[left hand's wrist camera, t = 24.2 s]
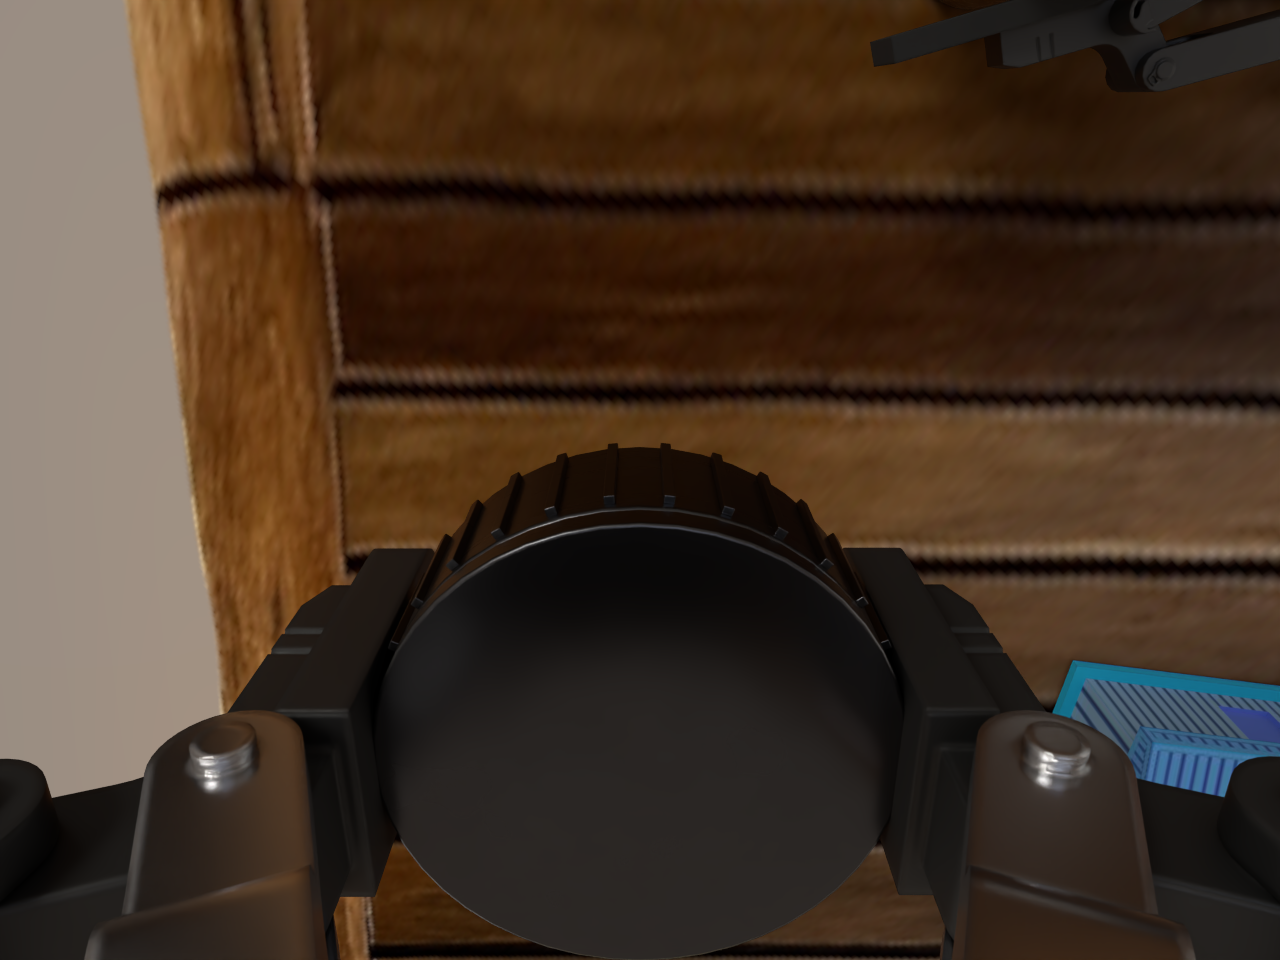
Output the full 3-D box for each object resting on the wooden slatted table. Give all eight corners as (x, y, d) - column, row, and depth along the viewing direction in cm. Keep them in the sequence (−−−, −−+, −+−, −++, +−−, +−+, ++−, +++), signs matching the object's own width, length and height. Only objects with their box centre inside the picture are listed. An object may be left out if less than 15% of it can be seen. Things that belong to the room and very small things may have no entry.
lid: (732, 348, 10) (757, 406, 8) (937, 720, 11) (1000, 844, 9) (320, 579, 11) (247, 681, 9) (567, 886, 12) (553, 1030, 10)
